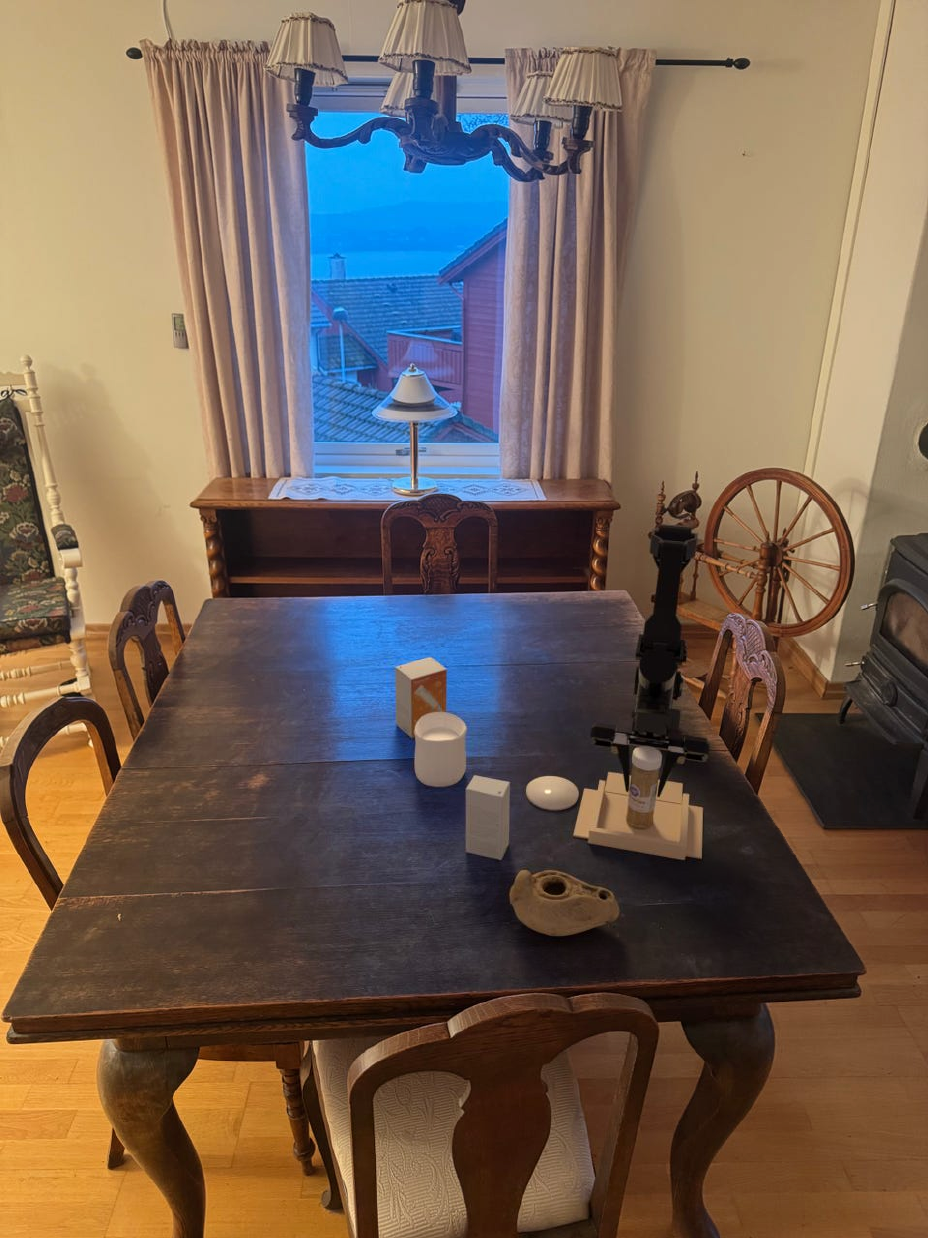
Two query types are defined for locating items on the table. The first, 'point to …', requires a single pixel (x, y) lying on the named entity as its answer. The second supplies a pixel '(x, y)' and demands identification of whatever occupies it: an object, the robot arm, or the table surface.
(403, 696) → the small box
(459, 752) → the cup
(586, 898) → the oil lamp
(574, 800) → the coaster
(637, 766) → the sprinkles bottle
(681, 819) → the carton
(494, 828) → the skincare box
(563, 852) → the table surface
